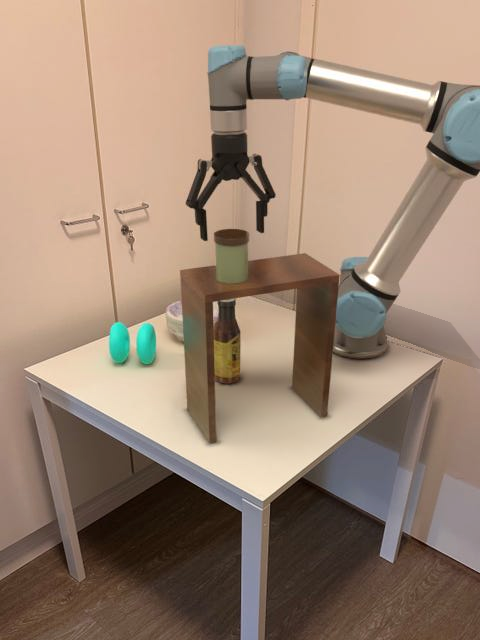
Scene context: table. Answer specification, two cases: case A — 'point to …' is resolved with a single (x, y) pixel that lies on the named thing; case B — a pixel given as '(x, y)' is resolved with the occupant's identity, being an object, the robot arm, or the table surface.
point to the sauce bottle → (227, 343)
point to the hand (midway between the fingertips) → (232, 235)
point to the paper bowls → (176, 318)
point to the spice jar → (231, 255)
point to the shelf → (263, 277)
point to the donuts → (121, 343)
